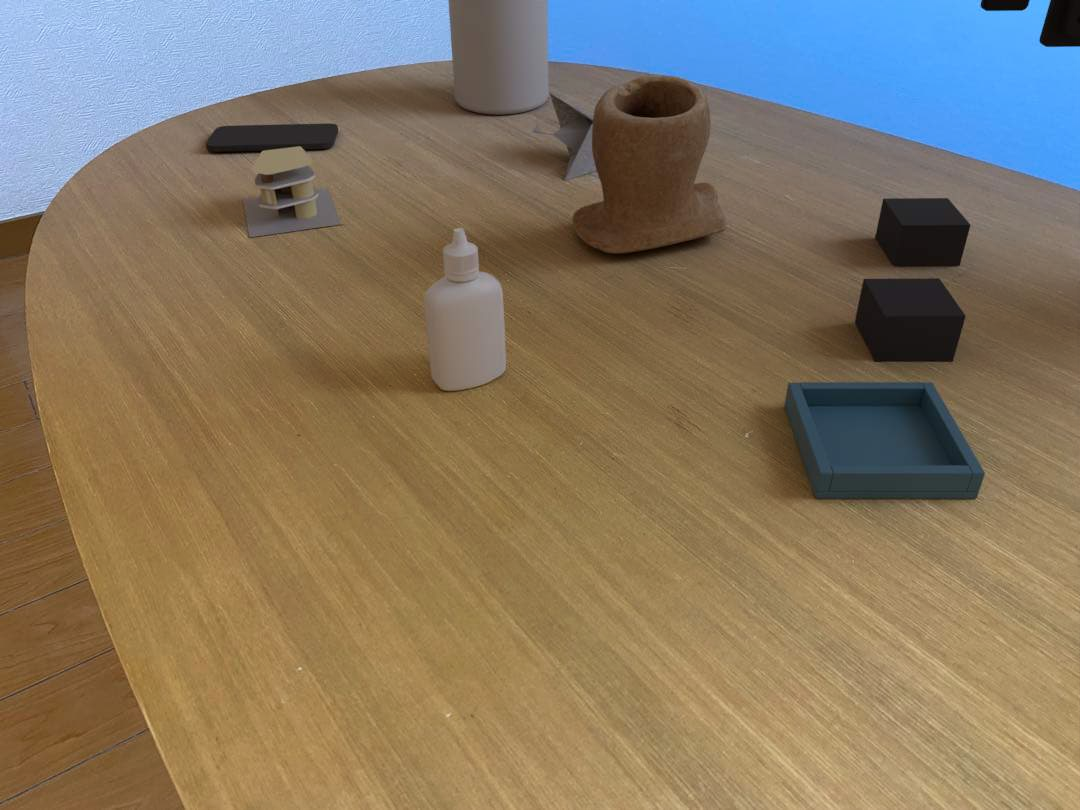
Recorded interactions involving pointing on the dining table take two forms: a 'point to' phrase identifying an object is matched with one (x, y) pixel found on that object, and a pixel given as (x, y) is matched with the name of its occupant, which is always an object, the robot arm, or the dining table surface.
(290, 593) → the dining table surface
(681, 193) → the stone cup
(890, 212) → the dark brown square block
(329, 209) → the stacked layers on plate
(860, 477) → the dock
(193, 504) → the dining table surface
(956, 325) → the black block
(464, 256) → the eye dropper bottle
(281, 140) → the phone
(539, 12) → the cylinder vase
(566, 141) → the paper boat
